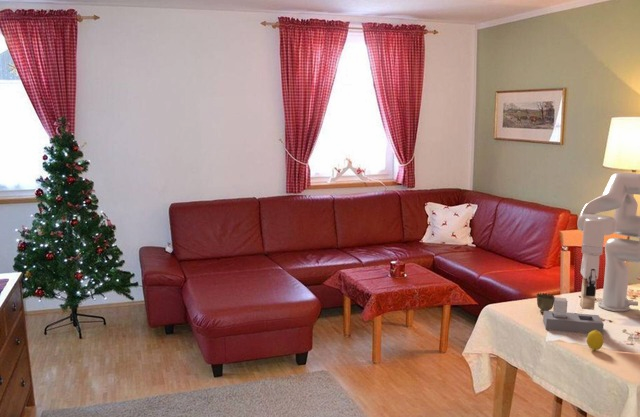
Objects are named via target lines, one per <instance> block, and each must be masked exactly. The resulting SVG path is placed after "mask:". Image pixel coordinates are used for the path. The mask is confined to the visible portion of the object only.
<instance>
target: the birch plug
mask: <svg viewBox="0 0 640 417" xmlns="http://www.w3.org/2000/svg"><path fill="white" fill-rule="evenodd" d="M581 281H582V282H581V292H580V303H579V305H580V308H581V309H582V310H589V311H590V310H591V311H595V305H596V304H595V303H596V292H597V284H598V282H597V281H596V286H595V287H596V288H595V296H586V286H587V278H586V279H585V278H583V277H582V280H581ZM590 281H591V280H589V283H590Z"/></svg>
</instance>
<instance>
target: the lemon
mask: <svg viewBox="0 0 640 417" xmlns="http://www.w3.org/2000/svg"><path fill="white" fill-rule="evenodd" d="M586 344H587V346H588V347H589V348H590V349H591V350H592V351H593V352H594V351H596V350H599V349H601V348H603V345H604V336H603V335H602V334H601V333H600V332H599V331H597V330H594V331H591V332H590V333H589V334H587V337H586Z"/></svg>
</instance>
